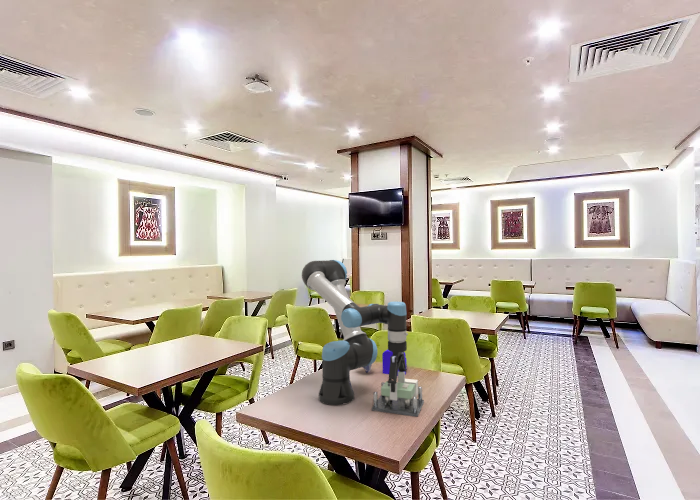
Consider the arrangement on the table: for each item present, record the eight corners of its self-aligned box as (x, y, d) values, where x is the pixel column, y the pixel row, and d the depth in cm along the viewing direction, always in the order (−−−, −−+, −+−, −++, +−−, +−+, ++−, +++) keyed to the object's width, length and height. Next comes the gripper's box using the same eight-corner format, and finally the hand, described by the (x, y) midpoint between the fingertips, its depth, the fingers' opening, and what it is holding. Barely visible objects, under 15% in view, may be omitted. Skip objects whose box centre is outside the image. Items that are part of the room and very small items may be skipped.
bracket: (402, 376, 185) (402, 353, 186) (382, 373, 190) (382, 350, 191) (413, 366, 202) (413, 344, 202) (394, 364, 206) (394, 343, 207)
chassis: (371, 410, 146) (371, 393, 146) (381, 397, 159) (381, 381, 159) (417, 416, 139) (417, 399, 139) (423, 402, 152) (423, 386, 153)
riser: (398, 394, 161) (397, 380, 161) (400, 391, 165) (399, 378, 165) (416, 397, 159) (416, 382, 159) (418, 393, 162) (417, 379, 162)
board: (381, 395, 148) (381, 385, 148) (386, 388, 155) (386, 379, 155) (411, 399, 143) (411, 389, 143) (415, 391, 151) (414, 382, 151)
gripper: (399, 349, 136) (399, 406, 136) (412, 334, 160) (413, 383, 160) (379, 347, 139) (380, 404, 139) (395, 333, 162) (395, 381, 162)
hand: (397, 393), depth 149 cm, fingers open, 13 cm apart
